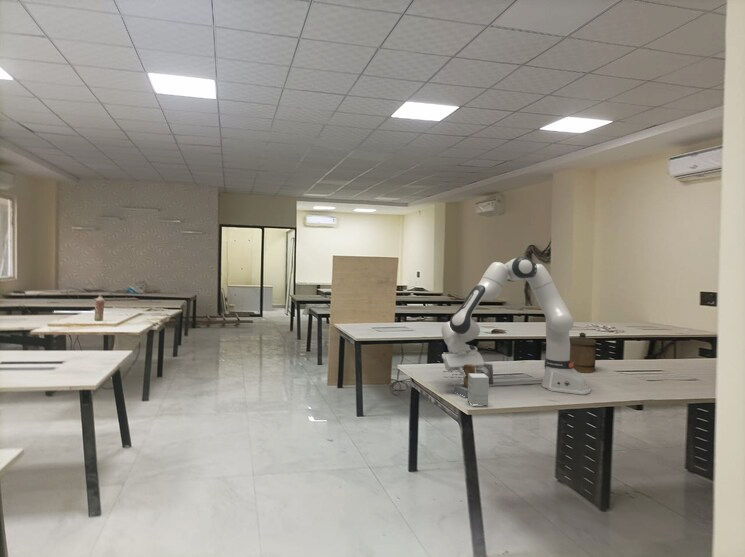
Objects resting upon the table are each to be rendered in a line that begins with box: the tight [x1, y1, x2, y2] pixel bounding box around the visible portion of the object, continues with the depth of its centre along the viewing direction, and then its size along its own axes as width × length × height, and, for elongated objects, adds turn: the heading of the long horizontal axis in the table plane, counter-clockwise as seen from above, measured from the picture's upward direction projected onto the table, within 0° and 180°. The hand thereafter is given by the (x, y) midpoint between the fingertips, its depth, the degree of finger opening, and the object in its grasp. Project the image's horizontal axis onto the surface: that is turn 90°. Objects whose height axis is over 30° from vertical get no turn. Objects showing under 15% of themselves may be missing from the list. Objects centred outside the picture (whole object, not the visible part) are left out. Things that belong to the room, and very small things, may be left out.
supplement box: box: [467, 373, 490, 406], centre depth 207 cm, size 7×7×13 cm
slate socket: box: [453, 383, 468, 398], centre depth 222 cm, size 10×10×4 cm
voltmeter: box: [442, 361, 494, 384], centre depth 244 cm, size 26×11×10 cm, turn 89°
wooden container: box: [569, 332, 597, 374], centre depth 279 cm, size 15×15×22 cm
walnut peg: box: [463, 364, 475, 389], centre depth 222 cm, size 4×4×12 cm
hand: (470, 376), depth 221 cm, fingers closed on walnut peg, 3 cm apart
